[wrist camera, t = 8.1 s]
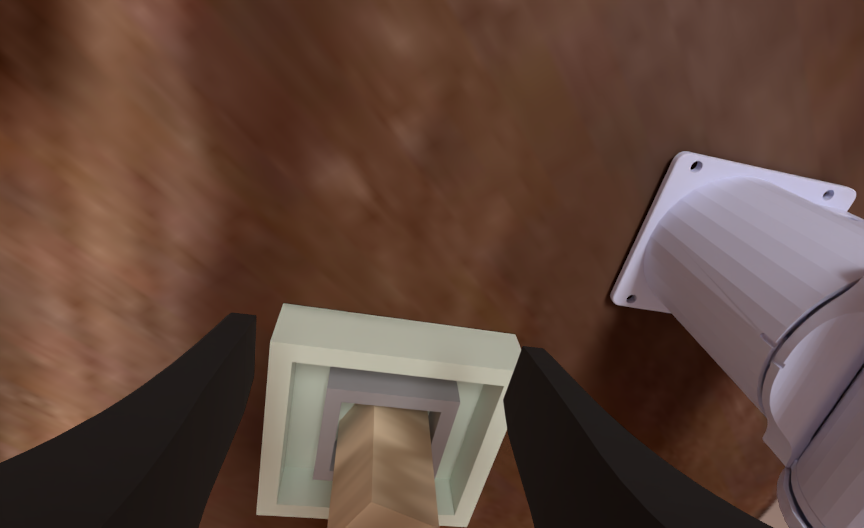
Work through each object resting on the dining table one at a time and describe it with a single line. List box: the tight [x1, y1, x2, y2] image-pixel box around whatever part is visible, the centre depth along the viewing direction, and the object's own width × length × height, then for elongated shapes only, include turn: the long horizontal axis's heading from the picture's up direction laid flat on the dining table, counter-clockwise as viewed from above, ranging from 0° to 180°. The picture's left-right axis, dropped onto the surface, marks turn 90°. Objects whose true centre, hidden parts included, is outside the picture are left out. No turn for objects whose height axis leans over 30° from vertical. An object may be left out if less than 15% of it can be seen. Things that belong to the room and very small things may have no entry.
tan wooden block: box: [327, 404, 439, 528], centre depth 24 cm, size 4×4×7 cm
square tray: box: [256, 303, 521, 527], centre depth 26 cm, size 12×12×3 cm
